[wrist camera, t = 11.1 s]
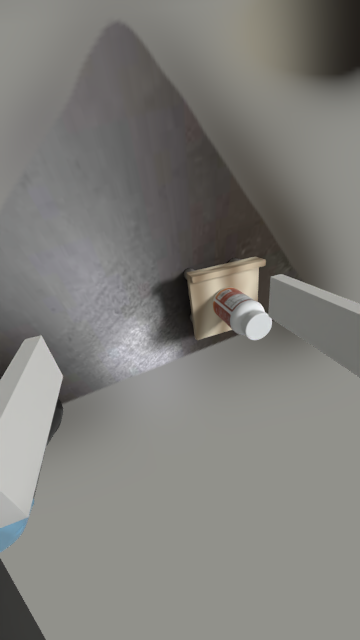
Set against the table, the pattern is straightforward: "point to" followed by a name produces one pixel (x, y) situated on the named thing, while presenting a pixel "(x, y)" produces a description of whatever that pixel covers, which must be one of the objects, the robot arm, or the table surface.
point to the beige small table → (210, 283)
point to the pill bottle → (242, 313)
